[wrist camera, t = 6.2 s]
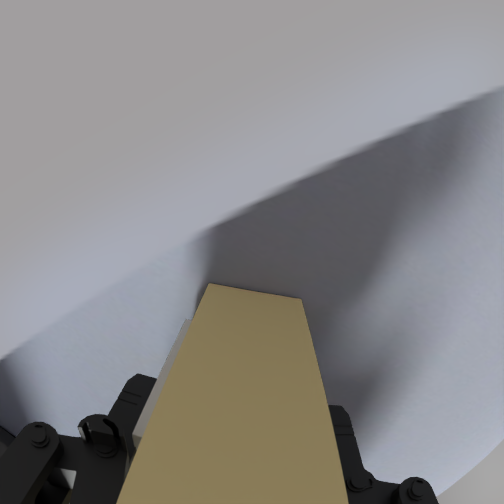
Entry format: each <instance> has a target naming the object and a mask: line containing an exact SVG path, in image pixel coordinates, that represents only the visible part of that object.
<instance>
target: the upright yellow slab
mask: <svg viewBox="0 0 504 504" xmlns="http://www.w3.org/2000/svg"><path fill="white" fill-rule="evenodd" d="M116 504H349V503H348V497H347V492H346V487H345V482H344V477H343V472H342V467H341V462H340V458H339V453H338V448H337V443H336V439H335V434H334V430H333V425H332V421H331V416H330V412H329V408H328V403H327V399H326V395H325V391H324V386H323V382H322V378H321V374H320V370H319V366H318V362H317V358H316V354H315V350H314V346H313V342H312V338H311V334H310V330H309V326H308V322H307V319H306V315H305V311H304V307H303V304H302V300H301V299H298V298H291V297H285V296H279V295H273V294H267V293H261V292H256V291H250V290H244V289H239V288H233V287H228V286H222V285H217V284H211V283H209V284H208V286H207V288H206V291H205V293H204V295H203V297H202V299H201V302H200V304H199V306H198V308H197V311H196V313H195V315H194V317H193V320H192V322H191V324H190V326H189V329H188V331H187V333H186V335H185V338H184V340H183V342H182V344H181V347H180V349H179V351H178V354H177V356H176V358H175V360H174V363H173V365H172V367H171V370H170V372H169V374H168V377H167V379H166V381H165V384H164V386H163V388H162V391H161V393H160V396H159V398H158V400H157V403H156V405H155V407H154V410H153V412H152V415H151V417H150V419H149V422H148V424H147V427H146V429H145V432H144V434H143V437H142V439H141V441H140V444H139V446H138V449H137V451H136V454H135V456H134V459H133V461H132V464H131V467H130V469H129V472H128V474H127V477H126V479H125V482H124V484H123V487H122V490H121V492H120V495H119V498H118V500H117V503H116Z"/></svg>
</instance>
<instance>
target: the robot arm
mask: <svg viewBox="0 0 504 504" xmlns="http://www.w3.org/2000/svg"><path fill="white" fill-rule="evenodd" d="M191 322H192V320H187V319H186V320H185V322H184V324H183V326H182V328H181V330H180V332H179V334H178V337H177V339H176V341H175V343H174V345H173V347H172V349H171V351H170V353H169V355H168V357H167V359H166V362H165V364H164V366H163V368H162V370H161V372H160V374H159V376H158V379H156V378H152V377H149V376H145V375H142V374H136V375H135V376H133V377H132V378H130V379H129V380H128V381H127V383H126V384H125V386H124V388H123V389H122V392H121V393H120V395H119V396H118V399H117V400H116V402H115V403H114V405H113V407H112V409H111V410H110V412H109V414H108V416H107V415H102V414H94V415H90V416H87V417H86V418H84V419H83V420H81V422H80V423H79V425H78V429H79V432H80V435H81V437H71V436H65V435H59V434H57V432H56V430H55V429H54V428H53V427H52V426H51V425H49V424H46V423H44V422H33V423H30V424H28V425H27V426H26V427H24V428H23V430H22V431H21V432H20V433H19V434H18V436H17V437H16V438H14V437H13V436H12V435H10V434H9V433H8V432H6V431H5V430H4V429H2V428H1V427H0V504H69V503H70V504H116V503H117V500H118V498H119V495H120V492H121V490H122V487H123V484H124V482H125V479H126V477H127V474H128V472H129V469H130V467H131V464H132V461H133V459H134V456H135V454H136V451H137V449H138V446H139V444H140V441H141V439H142V437H143V434H144V432H145V429H146V427H147V424H148V422H149V419H150V417H151V415H152V412H153V410H154V407H155V405H156V403H157V400H158V398H159V396H160V393H161V391H162V388H163V386H164V384H165V381H166V379H167V377H168V374H169V372H170V370H171V367H172V365H173V363H174V360H175V358H176V356H177V354H178V351H179V349H180V347H181V344H182V342H183V340H184V338H185V335H186V333H187V331H188V329H189V326H190V324H191ZM328 408H329V412H330V416H331V421H332V425H333V430H334V434H335V439H336V443H337V448H338V453H339V458H340V462H341V467H342V472H343V477H344V482H345V487H346V492H347V497H348V503H349V504H439V503H438V501H437V499H436V496H435V494H434V492H433V489H432V487H431V486H430V484H429V483H428V482H427V481H426V480H424V479H422V478H419V477H410V478H408V479H406V480H404V481H403V482H402V483H401V484H395V483H388V482H382V481H379V480H376V479H375V478H374V476H373V475H372V474H371V473H370V472H368V471H367V470H365V469H364V467H363V464H362V460H361V456H360V453H359V449H358V445H357V442H356V438H355V436H354V431H353V428H352V424H351V420H350V417H349V415H348V413H347V412H346V411H345V410H344V408H343V407H342V406H337V405H328Z"/></svg>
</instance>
